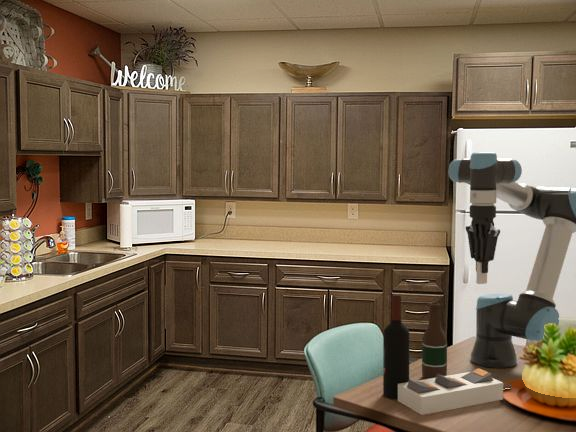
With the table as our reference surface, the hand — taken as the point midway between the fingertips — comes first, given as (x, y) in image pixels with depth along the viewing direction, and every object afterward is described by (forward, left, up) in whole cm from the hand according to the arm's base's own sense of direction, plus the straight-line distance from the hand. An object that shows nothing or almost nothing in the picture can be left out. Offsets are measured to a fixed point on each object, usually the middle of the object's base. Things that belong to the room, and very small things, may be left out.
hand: (481, 283), depth 201 cm
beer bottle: (+6, -15, -33) cm, 36 cm away
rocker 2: (+14, +4, -28) cm, 32 cm away
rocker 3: (+4, +4, -28) cm, 29 cm away
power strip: (+10, +4, -32) cm, 34 cm away
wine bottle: (+26, -6, -33) cm, 42 cm away
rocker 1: (+24, +4, -28) cm, 37 cm away
